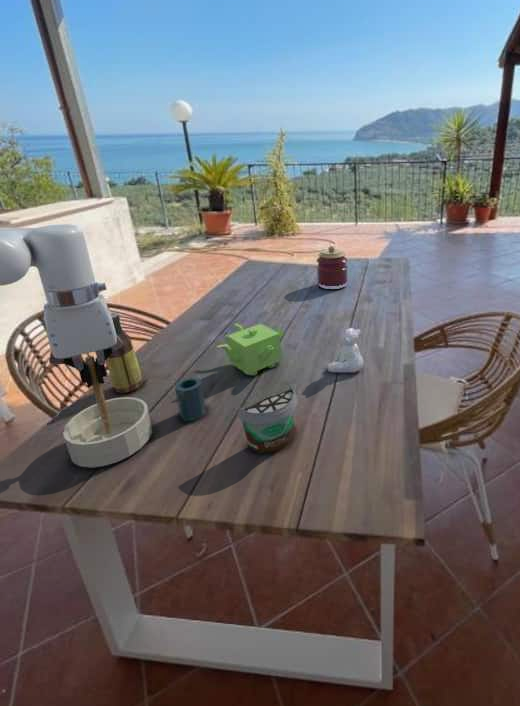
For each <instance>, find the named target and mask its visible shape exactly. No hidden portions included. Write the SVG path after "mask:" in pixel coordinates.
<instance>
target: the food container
mask: <svg viewBox="0 0 520 706" xmlns="http://www.w3.org/2000/svg"><path fill="white" fill-rule="evenodd" d="M297 405H298V396H297V394H296V391H295V388H293V386H292V385H291V384H290V385H289V389H287V390H285V391H284V392H281V393H278V394H275V395H272V396H267V397H265V398H263V399H261V400H260V401H258V402H256V403H253V405H250V406H248V407H246V408H242V407H241V406H238V409H237V414H236V415H237V418H238V419H239V420H241V423H242V427H243V430H244V434H245V437H246V441H247V446H248V447H249V449H251V450H252V451H254V452H256V453H261V454H262V453H263V454H269V453H270V454H271V453H275V452H278V451H281V450H283V449H284V448H287V446H288V445H290V443H291V441H292V439H293V435H294V415H295V413H294V412H295V411H294V410H295V409H296V407H297Z"/></svg>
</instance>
